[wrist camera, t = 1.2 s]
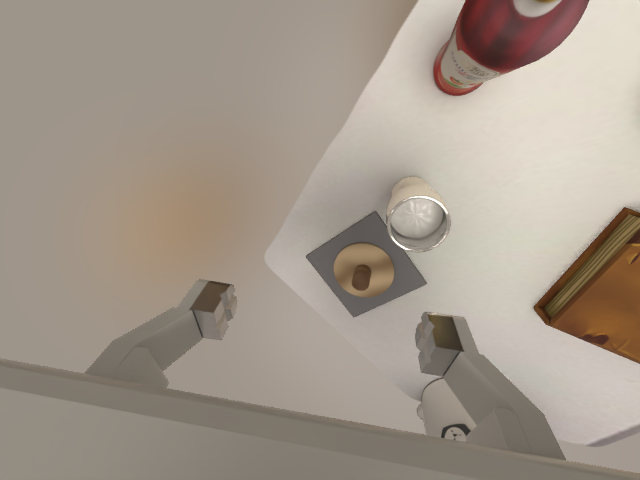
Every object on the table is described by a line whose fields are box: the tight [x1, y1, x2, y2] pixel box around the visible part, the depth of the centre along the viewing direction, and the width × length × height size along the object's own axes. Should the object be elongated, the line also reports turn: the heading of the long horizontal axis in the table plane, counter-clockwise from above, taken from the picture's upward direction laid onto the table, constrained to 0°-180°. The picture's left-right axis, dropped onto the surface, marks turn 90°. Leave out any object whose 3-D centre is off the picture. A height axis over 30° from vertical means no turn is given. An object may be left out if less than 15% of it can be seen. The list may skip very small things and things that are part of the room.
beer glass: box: [386, 177, 451, 252], centre depth 35 cm, size 7×7×15 cm
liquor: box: [434, 0, 589, 96], centre depth 22 cm, size 7×7×28 cm
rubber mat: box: [306, 211, 427, 317], centre depth 49 cm, size 16×16×1 cm
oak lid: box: [334, 242, 394, 297], centre depth 46 cm, size 11×11×5 cm
